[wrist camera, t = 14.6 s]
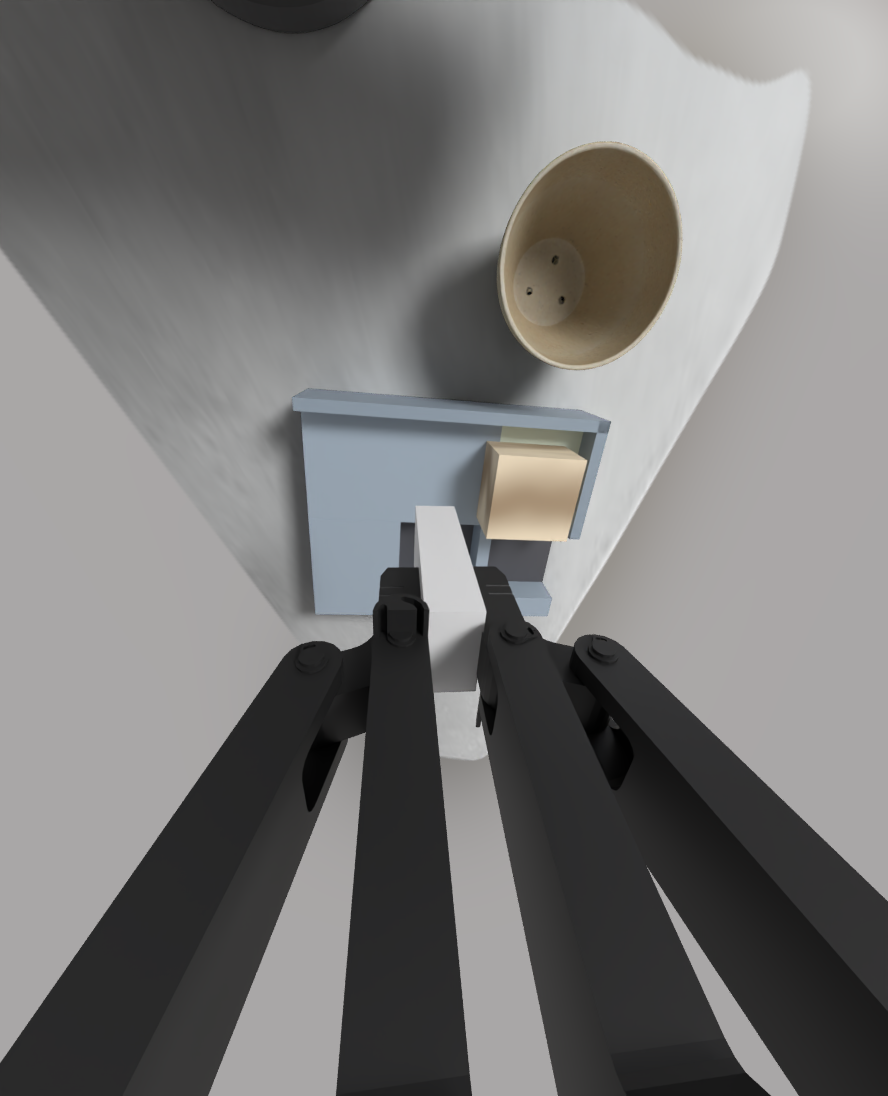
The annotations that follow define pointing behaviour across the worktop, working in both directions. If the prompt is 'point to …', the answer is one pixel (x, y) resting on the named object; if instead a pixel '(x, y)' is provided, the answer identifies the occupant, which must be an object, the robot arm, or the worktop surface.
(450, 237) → the worktop surface
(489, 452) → the block
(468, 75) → the worktop surface
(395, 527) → the tray
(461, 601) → the robot arm
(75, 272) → the worktop surface
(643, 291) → the tan bowl
